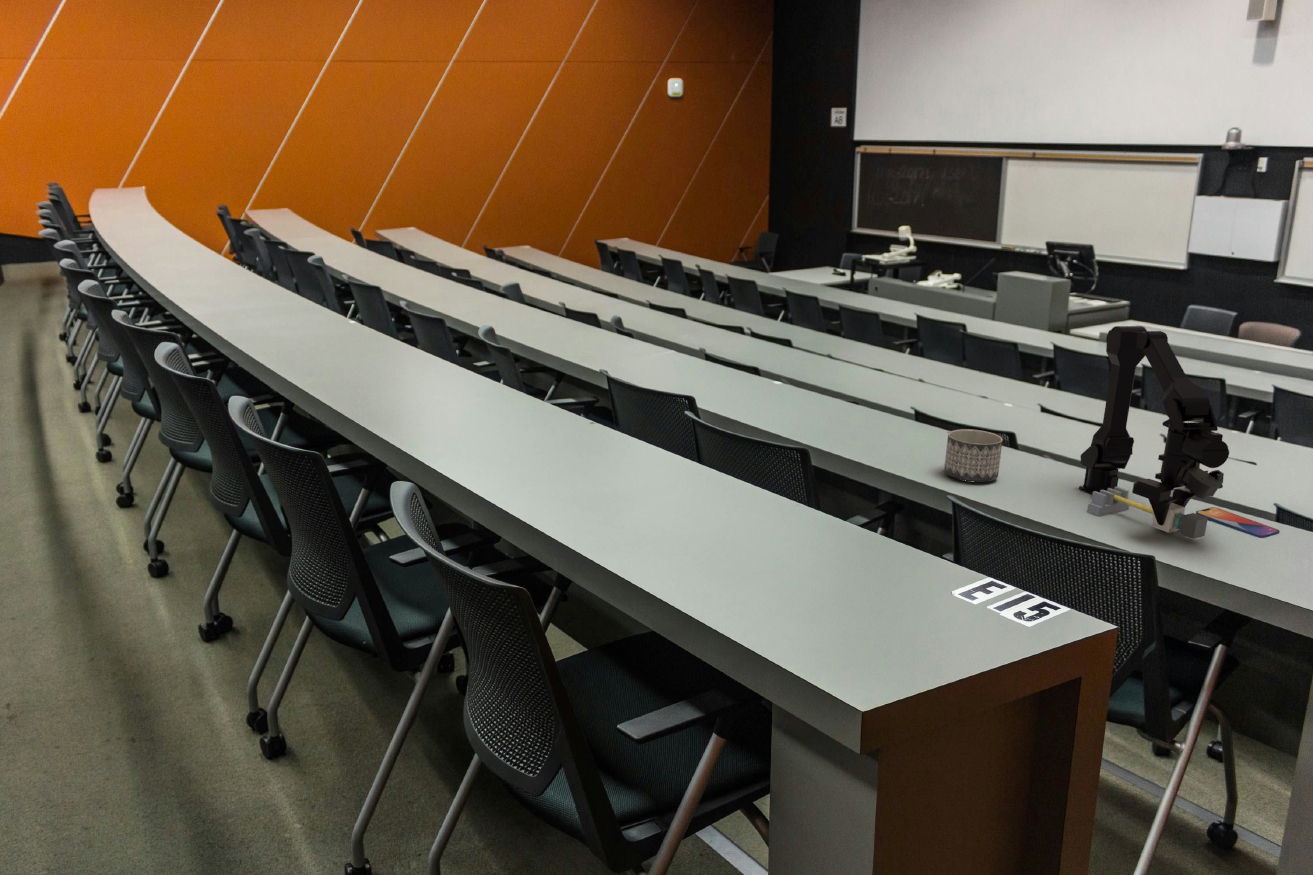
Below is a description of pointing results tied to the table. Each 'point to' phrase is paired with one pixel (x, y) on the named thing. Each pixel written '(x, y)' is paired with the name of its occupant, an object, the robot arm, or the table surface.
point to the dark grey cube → (1193, 525)
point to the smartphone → (1237, 522)
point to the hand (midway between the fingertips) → (1167, 523)
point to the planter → (973, 455)
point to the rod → (1135, 504)
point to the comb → (1107, 501)
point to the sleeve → (1169, 518)
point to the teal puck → (1178, 521)
